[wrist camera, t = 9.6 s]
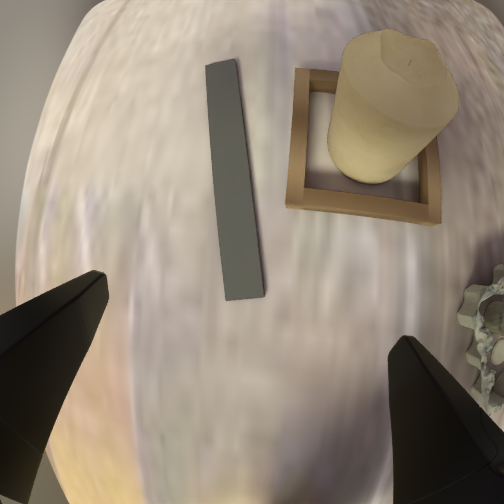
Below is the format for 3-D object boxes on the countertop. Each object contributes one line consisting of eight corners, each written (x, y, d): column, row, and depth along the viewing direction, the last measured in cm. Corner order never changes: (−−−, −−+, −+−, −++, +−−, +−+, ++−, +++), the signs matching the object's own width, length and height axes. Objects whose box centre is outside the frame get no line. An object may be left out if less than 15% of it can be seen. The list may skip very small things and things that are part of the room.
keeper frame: (431, 225, 16) (441, 222, 15) (286, 207, 18) (285, 202, 16) (422, 99, 17) (428, 90, 15) (295, 79, 18) (295, 68, 17)
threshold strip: (206, 68, 19) (205, 65, 19) (235, 61, 19) (234, 58, 19) (227, 300, 18) (225, 300, 18) (264, 296, 18) (263, 297, 17)
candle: (309, 138, 18) (315, 33, 8) (366, 100, 17) (399, 1, 7) (363, 201, 17) (427, 136, 7) (417, 158, 17) (491, 83, 7)
